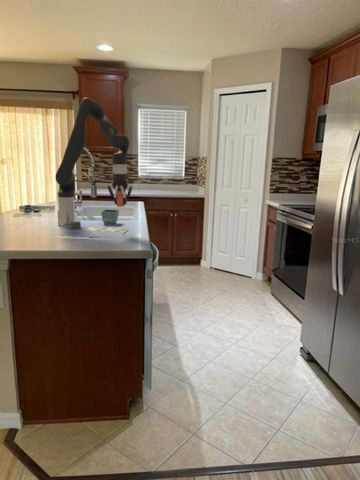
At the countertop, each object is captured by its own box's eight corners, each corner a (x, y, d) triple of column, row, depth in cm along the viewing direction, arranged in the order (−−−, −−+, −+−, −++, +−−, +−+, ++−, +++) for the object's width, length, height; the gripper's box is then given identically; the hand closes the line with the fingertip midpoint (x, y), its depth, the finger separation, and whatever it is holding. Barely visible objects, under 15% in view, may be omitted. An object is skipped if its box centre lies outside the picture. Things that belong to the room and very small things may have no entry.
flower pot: (119, 224, 221) (119, 209, 219) (115, 226, 213) (115, 211, 211) (105, 223, 222) (105, 209, 220) (101, 226, 214) (100, 211, 212)
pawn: (116, 206, 192) (115, 190, 190) (117, 205, 196) (117, 189, 194) (123, 206, 192) (122, 190, 190) (125, 205, 196) (124, 189, 194)
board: (84, 232, 194) (84, 230, 194) (90, 229, 204) (90, 227, 203) (124, 234, 192) (124, 232, 192) (128, 230, 202) (128, 228, 201)
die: (71, 231, 196) (71, 222, 195) (71, 229, 201) (71, 220, 200) (80, 231, 198) (80, 222, 196) (80, 229, 202) (80, 220, 201)
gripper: (104, 173, 187) (105, 205, 191) (131, 173, 186) (131, 205, 189) (108, 172, 194) (109, 203, 198) (134, 172, 193) (134, 204, 197)
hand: (120, 204), depth 194 cm, fingers closed on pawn, 4 cm apart
